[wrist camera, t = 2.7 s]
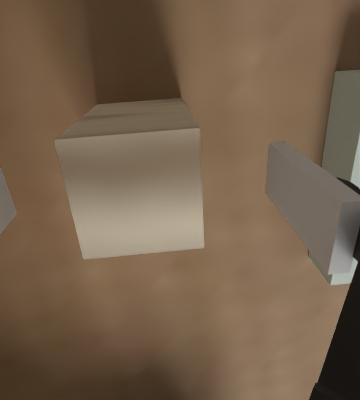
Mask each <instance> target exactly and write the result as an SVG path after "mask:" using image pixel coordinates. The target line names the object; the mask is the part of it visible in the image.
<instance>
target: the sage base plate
mask: <svg viewBox="0 0 360 400" xmlns="http://www.w3.org/2000/svg"><path fill="white" fill-rule="evenodd" d="M321 168H323V169H324V170H326V171H327V172H328V173H330V174H331V175H333V176H334V177H335V178H337V177H339V178H341V179H344V180H347V181H350V182H352V183H353V184H354V185H356V186H357V187H359V189H360V70H347V71H335V75H334V82H333V89H332V96H331V103H330V110H329V117H328V124H327V131H326V137H325V144H324V151H323V158H322V165H321ZM308 256H309V258H310V259H311V260H312V262H313V263H314V264H315V266H316V267H317V268H318V269H319V271H320V272H321V273H322V275H323V276H324V277H325V279H326V280H327V281H328V283H329V284H330V285H337V284H347V283H351V281H352V278H353V275H354V272H355V269H356V266H357V263H358V262H357V261H356V260H355V258H353V262H352V266H351V270H350V273H340V274H330V275H328V274H327V273H326V271H325V270H324V269H323V268H322V266H321V265H320V264H319V262H318V261H317V260H316V258H315V257H314V256H313V254H312V253H311V252H310V250H309V255H308Z"/></svg>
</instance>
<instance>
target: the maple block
mask: <svg viewBox="0 0 360 400" xmlns="http://www.w3.org/2000/svg"><path fill="white" fill-rule="evenodd" d="M54 143H55V147H56V151H57V155H58V159H59V163H60V167H61V171H62V175H63V179H64V183H65V187H66V191H67V195H68V199H69V203H70V207H71V211H72V215H73V219H74V223H75V227H76V231H77V235H78V239H79V243H80V247H81V251H82V255H83V259H94V258H104V257H115V256H125V255H136V254H146V253H157V252H167V251H178V250H188V249H199V248H204V231H203V203H202V176H201V148H200V128H199V126H198V124H197V123H196V121H195V119H194V118H193V116H192V114H191V113H190V111H189V109H188V108H187V106H186V104H185V103H184V101H183V99H182V98H174V99H161V100H148V101H135V102H122V103H109V104H97V105H96V106H94V107H93V108H92V109H91V110H90V111H88V112H87V113H86V114H85V115H83V116H82V117H81V118H80V119H79V120H77V121H76V122H75V123H74V124H72V125H71V126H70V127H69V128H68V129H66V130H65V131H64V132H63V133H61V134H60V135H59V136H58V137H57V138H55V139H54Z"/></svg>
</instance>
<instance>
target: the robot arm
mask: <svg viewBox="0 0 360 400" xmlns="http://www.w3.org/2000/svg"><path fill="white" fill-rule="evenodd" d="M265 193H266V194H267V195H268V197H269V198H270V199H271V200H272V202H273V203H274V204H275V206H276V207H277V208H278V210H279V211H280V212H281V214H282V215H283V216H284V218H285V219H286V220H287V222H288V223H289V224H290V225H291V227H292V228H293V229H294V231H295V232H296V233H297V235H298V236H299V237H300V239H301V240H302V241H303V243H304V244H305V245H306V246H307V248H308V249H309V250H310V252H311V253H312V254H313V256H314V257H315V258H316V260H317V261H318V262H319V264H320V265H321V266H322V268H323V269H324V270H325V271H326V273H327V274H328V275H330V274H340V273H350V270H351V266H352V262H353V258H355V260H356V261H357V262H358V263H357V266H356V269H355V272H354V275H353V278H352V281H351V284H350V287H349V290H348V293H347V296H346V299H345V302H344V305H343V308H342V311H341V314H340V317H339V320H338V323H337V326H336V329H335V332H334V335H333V338H332V341H331V344H330V347H329V350H328V353H327V356H326V359H325V362H324V365H323V368H322V371H321V374H320V377H319V380H318V382H317V383H315V385H314V388H313V390H312V393H311V396H310V399H309V400H360V189H359V187H357V186H356V185H354V184H353V183H352V182H350V181H347V180H344V179H341V178H339V177H337V178H335V177H334V176H333V175H331V174H330V173H328V172H327V171H326V170H324V169H323V168H321V167H320V166H319V165H317V164H316V163H314V162H313V161H312V160H310V159H309V158H307V157H306V156H305V155H303V154H302V153H300V152H299V151H298V150H296V149H295V148H293V147H292V146H291V145H289V144H288V143H286V142H285V141H277V142H269V148H268V163H267V177H266V192H265ZM16 215H17V213H16V210H15V207H14V204H13V201H12V198H11V195H10V192H9V190H8V187H7V184H6V181H5V178H4V175H3V172H2V170H1V167H0V234H1V232H2V231H3V230H4V229H5V228H6V227H7V225H8V224H9V223H10V222H11V221H12V220H13V218H14V217H15V216H16Z"/></svg>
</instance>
